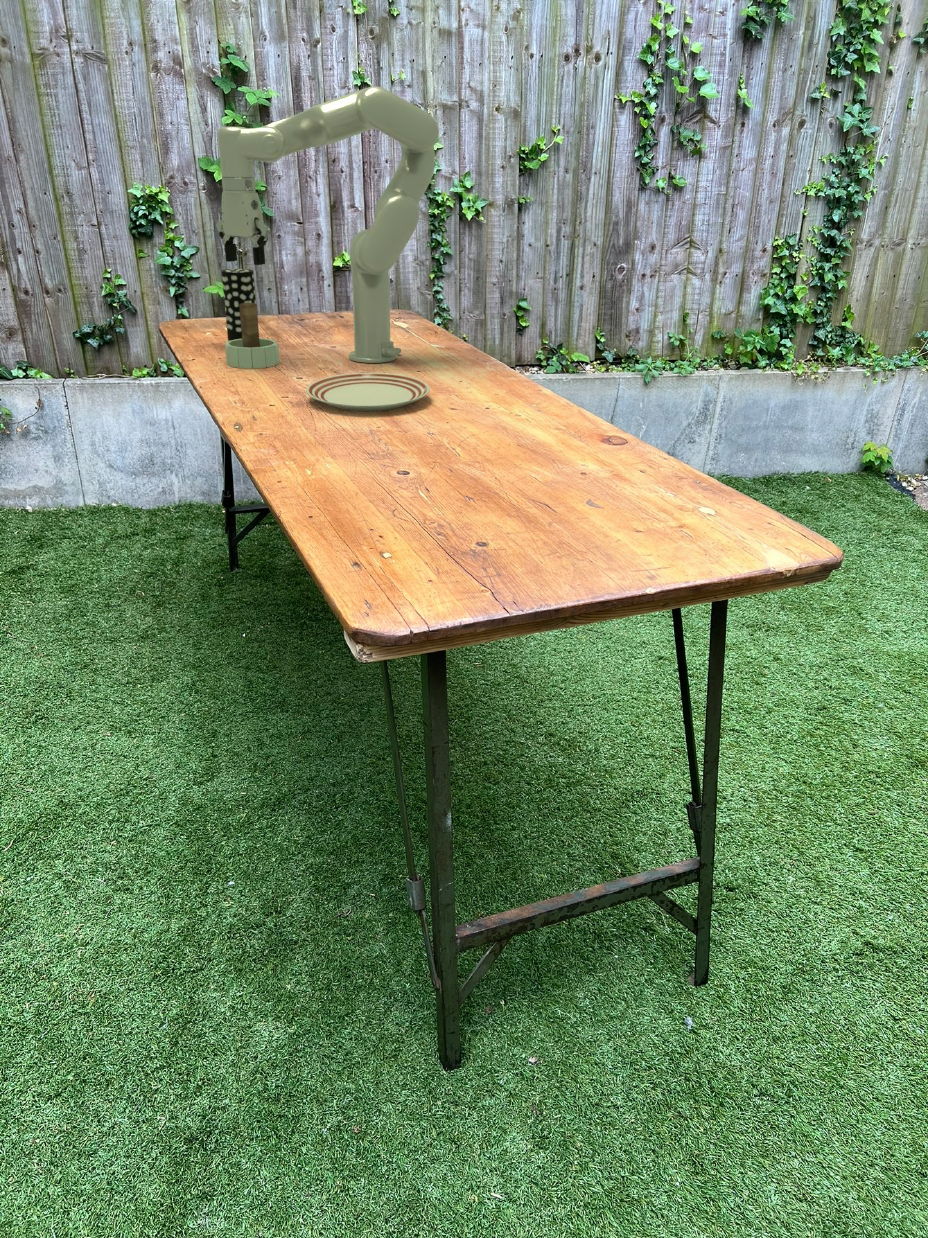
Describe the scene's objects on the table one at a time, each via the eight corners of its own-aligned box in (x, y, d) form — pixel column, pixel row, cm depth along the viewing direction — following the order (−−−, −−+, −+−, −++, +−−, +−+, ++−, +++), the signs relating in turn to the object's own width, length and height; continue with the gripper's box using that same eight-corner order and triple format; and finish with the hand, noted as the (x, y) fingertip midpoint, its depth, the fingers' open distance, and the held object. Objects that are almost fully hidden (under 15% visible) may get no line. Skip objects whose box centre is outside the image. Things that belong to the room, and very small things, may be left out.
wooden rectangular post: (261, 360, 234) (256, 303, 228) (252, 362, 232) (247, 305, 226) (252, 358, 236) (248, 302, 229) (244, 360, 234) (239, 303, 227)
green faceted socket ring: (289, 362, 236) (288, 342, 234) (252, 370, 226) (250, 350, 224) (253, 355, 242) (252, 336, 240) (216, 363, 233) (214, 343, 230)
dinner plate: (412, 422, 190) (412, 406, 188) (288, 412, 194) (287, 396, 193) (442, 391, 214) (442, 376, 212) (330, 382, 218) (330, 368, 217)
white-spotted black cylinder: (255, 351, 247) (249, 273, 238) (225, 350, 247) (217, 272, 238) (262, 344, 255) (256, 269, 245) (232, 344, 255) (225, 268, 245)
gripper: (276, 186, 214) (282, 264, 222) (225, 183, 222) (232, 258, 230) (253, 187, 208) (259, 267, 216) (201, 184, 217) (209, 261, 225)
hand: (245, 262), depth 223 cm, fingers open, 9 cm apart
